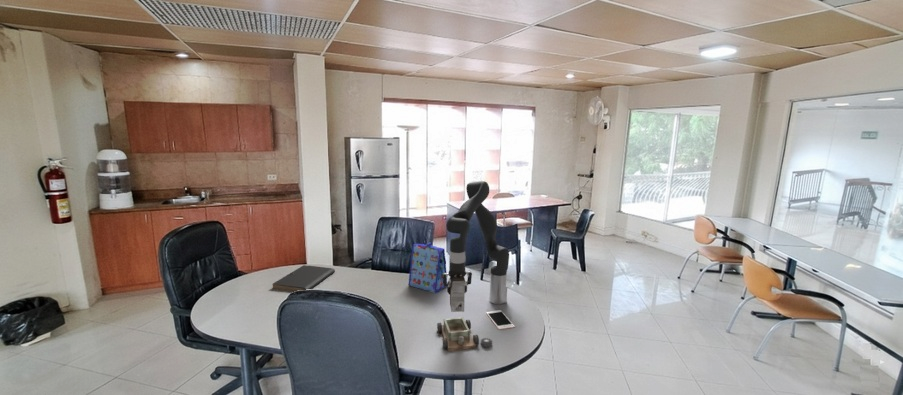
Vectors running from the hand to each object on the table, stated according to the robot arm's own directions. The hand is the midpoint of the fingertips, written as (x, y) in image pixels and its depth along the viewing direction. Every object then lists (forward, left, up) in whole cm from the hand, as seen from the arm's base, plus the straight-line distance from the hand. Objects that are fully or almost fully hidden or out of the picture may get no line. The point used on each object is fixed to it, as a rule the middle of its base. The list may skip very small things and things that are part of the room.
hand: (456, 293), depth 175 cm
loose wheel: (-12, +11, -22) cm, 27 cm away
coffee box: (0, 0, -8) cm, 8 cm away
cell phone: (-26, -10, -23) cm, 36 cm away
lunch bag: (+5, -59, -22) cm, 63 cm away
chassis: (0, +2, -22) cm, 22 cm away
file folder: (+82, -83, -23) cm, 119 cm away
